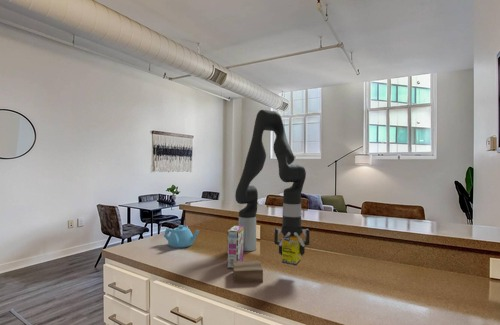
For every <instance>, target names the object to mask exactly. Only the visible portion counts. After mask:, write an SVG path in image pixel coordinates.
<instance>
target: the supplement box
mask: <svg viewBox="0 0 500 325" xmlns="http://www.w3.org/2000/svg"><path fill="white" fill-rule="evenodd" d="M282 237H283V238H284V241H282V255H281V264H285V265H292V266H294V267H295V266H297V265H298V264H299V263H300V262H301V260H302V259H301V258H302V256H301V244H300V242H299V241H298V237H296V236H289V237H285V236H283V235H282ZM299 237H300V238H301V239H302V234H301V235H300V236H299Z"/></svg>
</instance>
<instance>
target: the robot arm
mask: <svg viewBox="0 0 500 325" xmlns="http://www.w3.org/2000/svg"><path fill="white" fill-rule="evenodd" d="M283 122H284V121H283V119H282V116H281V114H280V112H278V111H275V110H267V109H260V110H258V111H257V114H256V117H255V121H254V126H253V132H252V137H251V141H250V145H249V148H248V151H247V154H246V158H245V162H244V167H243V170H242V174H241V176H240V178H239V182H238V185H237V186H236V190H235V194H234V195H235V196H234V198H235V201H236V203H237V204H239V205H245V207H244V208H242V209H240V210H239V211H238V226H244V229H243V252H253V251H255V250H257V212H258V202H259V200H258V199H259V198H258V197H259V195H258V194H259V193H258V189H257V187H256V186H254V185H250V184H251V182H252V181H253V180H254V179H255V178H256V177H257V176H258V175H259V174H260V173H261V171H262V170H263V168H264V166H265V162H266V159H267V153H266V152H267V151H266V149H265V147H264V143H263V134H264V131H268V132H269V131H270V132H272V131H273V133H274V134H275V140H274V142H273V147H272V148H273V149H272V150H273V152H274V155H275V158H276V160H277V163H278V177H279V179H280V180H281V181H282V182H283V183H292V185H291V186H290V187H287V188H284V190H283V192H282V193H283V196H282V198H283V202H282V203H283V204H282V226H281V228H277V227H275V228H274V234H273V236H274V240H273V242H274V245H277V246H278V254H280V256H282V241H284V238H283V236H285V237H289V236H296V237H298V241H299V242H300V244H301V257H302V256H304V255H305V253H306V252H305V249H306V246H310V230H309V228H305V229H302V228H303V227H302V213H303V212H302V192H303V188H304V185H305V181H306V176H307V175H306V174H307V171H306V169H305V166H303V165H302V164H292V163H294V161H295V155H294V152H293V151H292V148H291V147H290V143H289V142H288V138H287V134H286V131H285V126H284V123H283ZM280 234H282V236H281V238H280V239H279V238H278V237H279V236H278V235H280ZM302 234H303V235H305V240H304V241H303V239H302V237H301V238H300V237H299V236H300V235H301V236H302Z"/></svg>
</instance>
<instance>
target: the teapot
mask: <svg viewBox="0 0 500 325" xmlns="http://www.w3.org/2000/svg"><path fill="white" fill-rule="evenodd" d="M199 232H200V229H196V230H195V231H194V233H192V231H191V229H190V228H189V227H188V225H182V224H181V225H180V224H179V225H178V227H175V228H169V227H167V228H166V229H165V232H164V234H163V237H164V238H165V240H167V243H168V245H169V246H170V247H171V248H174V249H175V248H176V249H182V248H188V247H190V246H192V245H193V244H194V241H195V240H196V238H197V236H198V234H199Z"/></svg>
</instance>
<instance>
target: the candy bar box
mask: <svg viewBox="0 0 500 325" xmlns="http://www.w3.org/2000/svg"><path fill="white" fill-rule="evenodd" d="M243 229H244V226H239V225H233V226H232V227H230V228H229V229H228V230H227V247H226V248H227V252H226V254H227V257H226V258H227V259H226V262H227V263H226V264H227V265H226V268H227V269H231V270H233V261H244V251H243Z"/></svg>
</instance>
